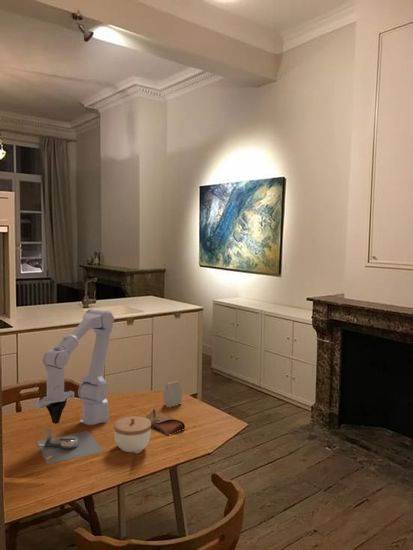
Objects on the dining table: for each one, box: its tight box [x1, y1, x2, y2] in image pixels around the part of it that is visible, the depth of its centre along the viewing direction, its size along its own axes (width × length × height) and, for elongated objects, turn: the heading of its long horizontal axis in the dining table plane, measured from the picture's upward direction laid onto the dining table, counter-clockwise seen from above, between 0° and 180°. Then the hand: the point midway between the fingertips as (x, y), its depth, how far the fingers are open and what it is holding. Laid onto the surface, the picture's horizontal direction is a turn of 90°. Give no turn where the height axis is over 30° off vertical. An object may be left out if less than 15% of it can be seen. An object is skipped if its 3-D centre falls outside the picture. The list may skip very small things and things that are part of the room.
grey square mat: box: [36, 430, 104, 465], centre depth 153 cm, size 18×18×1 cm
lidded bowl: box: [113, 415, 152, 455], centre depth 154 cm, size 13×13×11 cm
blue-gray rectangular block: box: [163, 380, 183, 408], centre depth 195 cm, size 4×7×10 cm, turn 131°
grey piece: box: [45, 428, 78, 450], centre depth 153 cm, size 11×6×5 cm, turn 90°
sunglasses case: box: [144, 408, 186, 436], centre depth 174 cm, size 18×7×7 cm
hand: (55, 422), depth 157 cm, fingers closed
